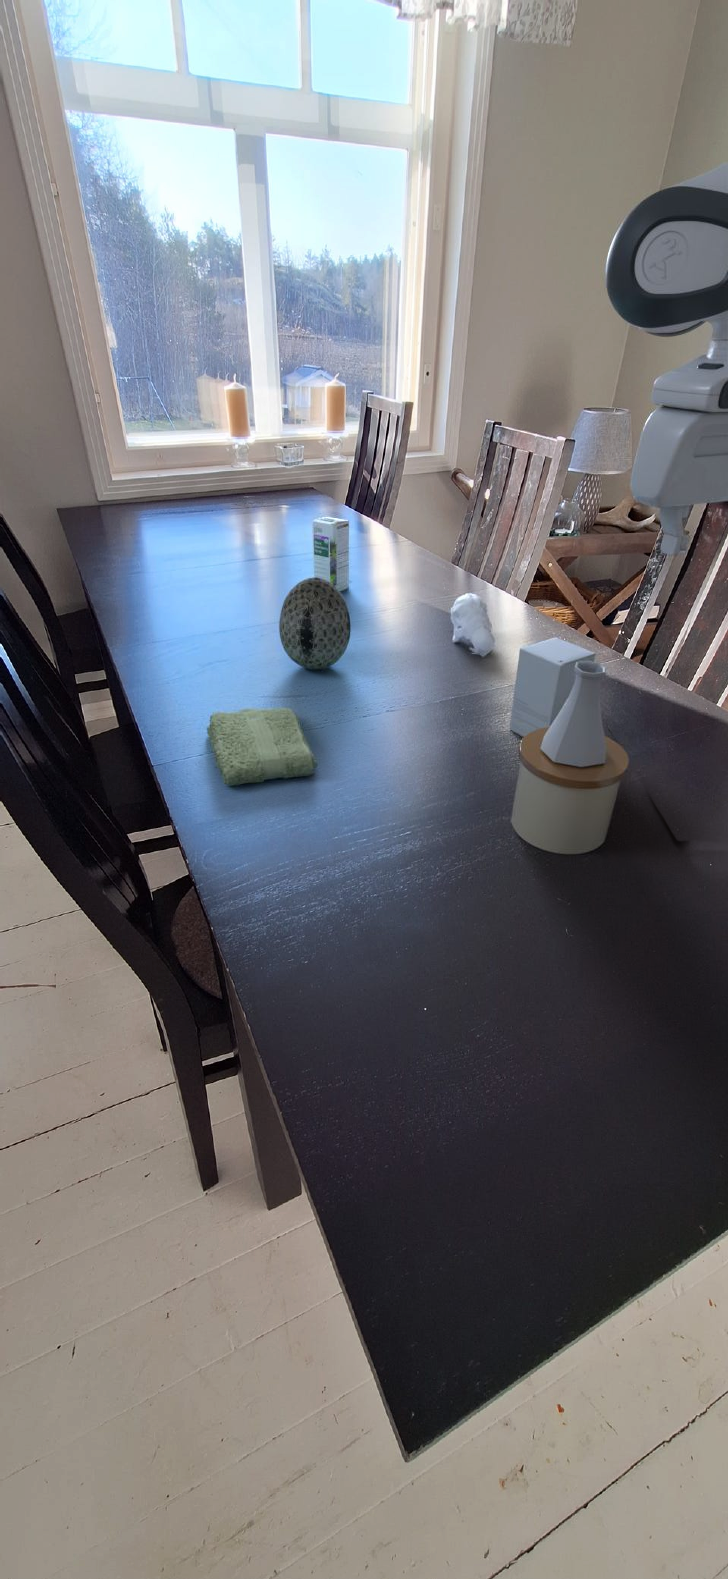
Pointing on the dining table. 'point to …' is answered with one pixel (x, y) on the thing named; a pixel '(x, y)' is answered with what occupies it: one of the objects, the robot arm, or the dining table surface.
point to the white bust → (472, 623)
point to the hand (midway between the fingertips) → (709, 548)
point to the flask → (579, 722)
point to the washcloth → (259, 745)
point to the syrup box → (331, 551)
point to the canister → (565, 798)
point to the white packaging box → (544, 683)
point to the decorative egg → (314, 624)
